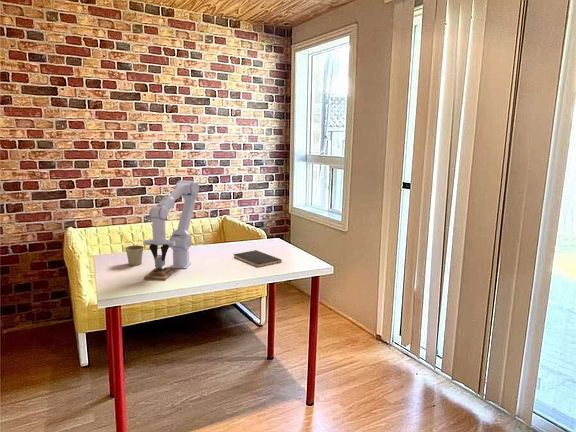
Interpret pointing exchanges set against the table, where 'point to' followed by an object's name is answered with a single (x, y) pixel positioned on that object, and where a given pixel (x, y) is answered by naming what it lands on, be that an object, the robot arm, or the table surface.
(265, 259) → the hardcover book
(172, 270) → the chassis board
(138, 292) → the table surface
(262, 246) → the table surface
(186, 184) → the robot arm
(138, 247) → the flower pot
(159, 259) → the servo block
